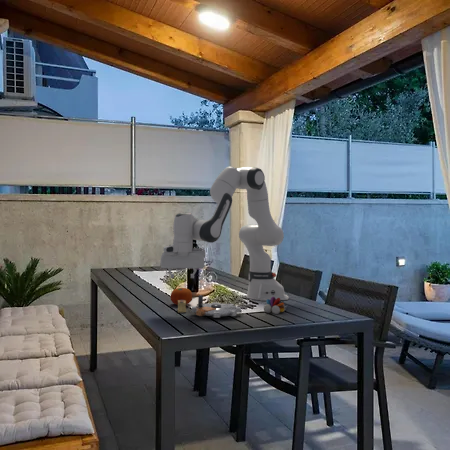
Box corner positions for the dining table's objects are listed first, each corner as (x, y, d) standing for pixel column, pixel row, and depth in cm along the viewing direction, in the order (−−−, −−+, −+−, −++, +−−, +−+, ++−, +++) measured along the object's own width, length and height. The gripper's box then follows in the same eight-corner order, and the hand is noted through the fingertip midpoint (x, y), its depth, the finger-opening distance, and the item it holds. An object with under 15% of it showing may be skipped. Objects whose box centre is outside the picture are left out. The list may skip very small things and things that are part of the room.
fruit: (182, 301, 241) (183, 286, 241) (196, 305, 233) (196, 288, 233) (165, 304, 233) (166, 288, 233) (179, 308, 226) (179, 291, 226)
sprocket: (209, 304, 227) (209, 290, 227) (249, 310, 216) (249, 295, 215) (181, 312, 209) (181, 296, 208) (223, 319, 197) (224, 303, 197)
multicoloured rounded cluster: (279, 315, 214) (280, 299, 214) (260, 312, 219) (261, 297, 219) (287, 312, 221) (288, 296, 221) (268, 309, 227) (269, 294, 226)
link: (185, 309, 223) (185, 299, 222) (185, 312, 217) (185, 302, 217) (177, 309, 222) (177, 299, 222) (177, 312, 216) (178, 302, 216)
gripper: (205, 247, 223) (204, 277, 223) (160, 247, 220) (160, 277, 221) (206, 248, 216) (205, 279, 217) (160, 248, 214) (159, 279, 215)
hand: (182, 278), depth 219 cm, fingers open, 8 cm apart
